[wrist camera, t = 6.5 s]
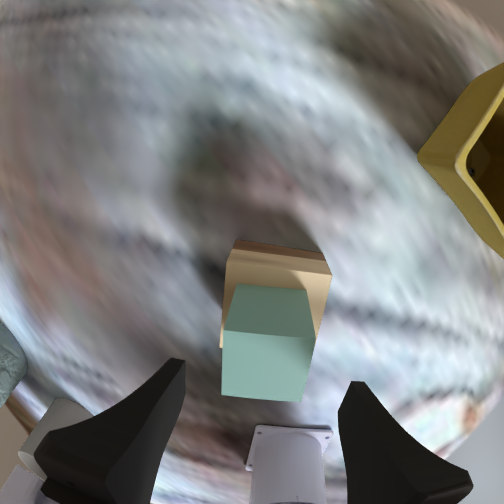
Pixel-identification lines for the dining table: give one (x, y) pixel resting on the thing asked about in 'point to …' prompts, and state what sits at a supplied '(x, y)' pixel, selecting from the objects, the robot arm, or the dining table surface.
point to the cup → (54, 418)
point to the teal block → (267, 343)
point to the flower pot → (473, 156)
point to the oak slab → (277, 279)
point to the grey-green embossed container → (10, 363)
